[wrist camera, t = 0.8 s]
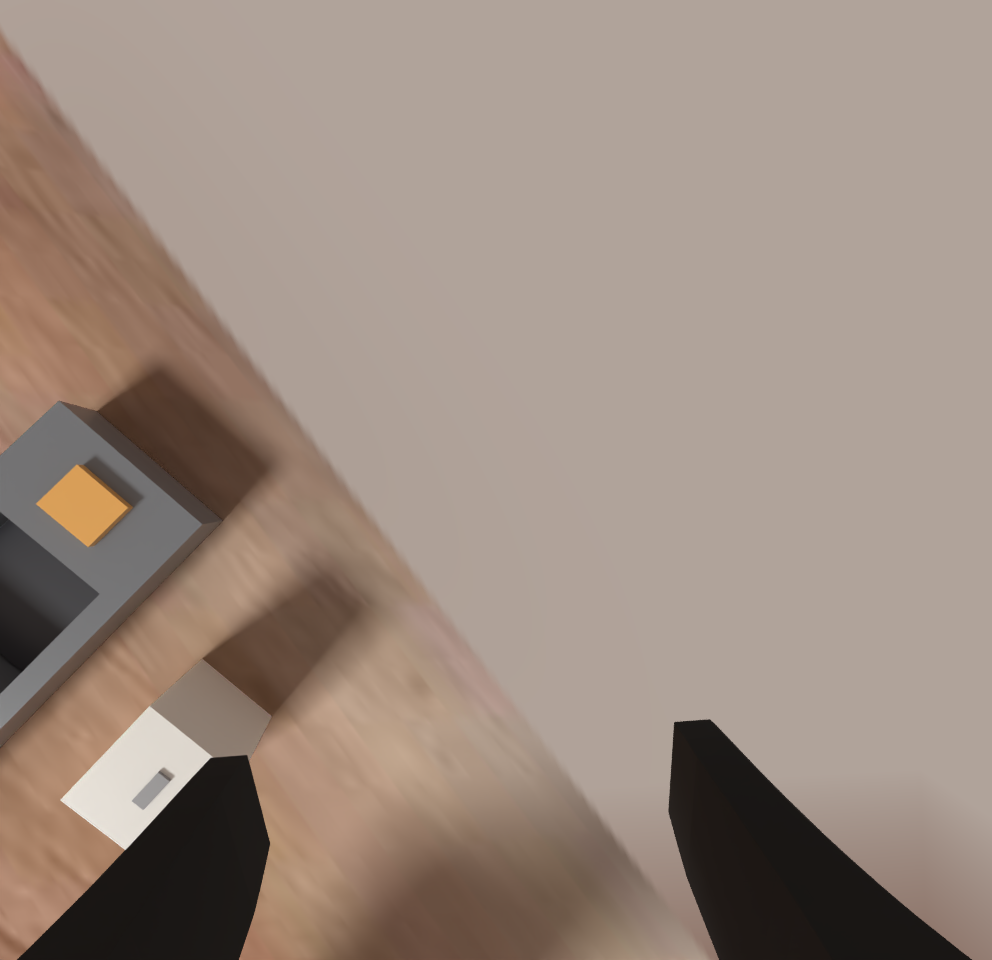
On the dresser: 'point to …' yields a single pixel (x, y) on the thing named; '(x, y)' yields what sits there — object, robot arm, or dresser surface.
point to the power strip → (79, 548)
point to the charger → (166, 752)
